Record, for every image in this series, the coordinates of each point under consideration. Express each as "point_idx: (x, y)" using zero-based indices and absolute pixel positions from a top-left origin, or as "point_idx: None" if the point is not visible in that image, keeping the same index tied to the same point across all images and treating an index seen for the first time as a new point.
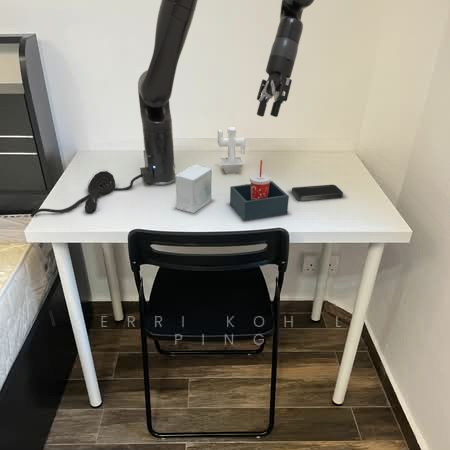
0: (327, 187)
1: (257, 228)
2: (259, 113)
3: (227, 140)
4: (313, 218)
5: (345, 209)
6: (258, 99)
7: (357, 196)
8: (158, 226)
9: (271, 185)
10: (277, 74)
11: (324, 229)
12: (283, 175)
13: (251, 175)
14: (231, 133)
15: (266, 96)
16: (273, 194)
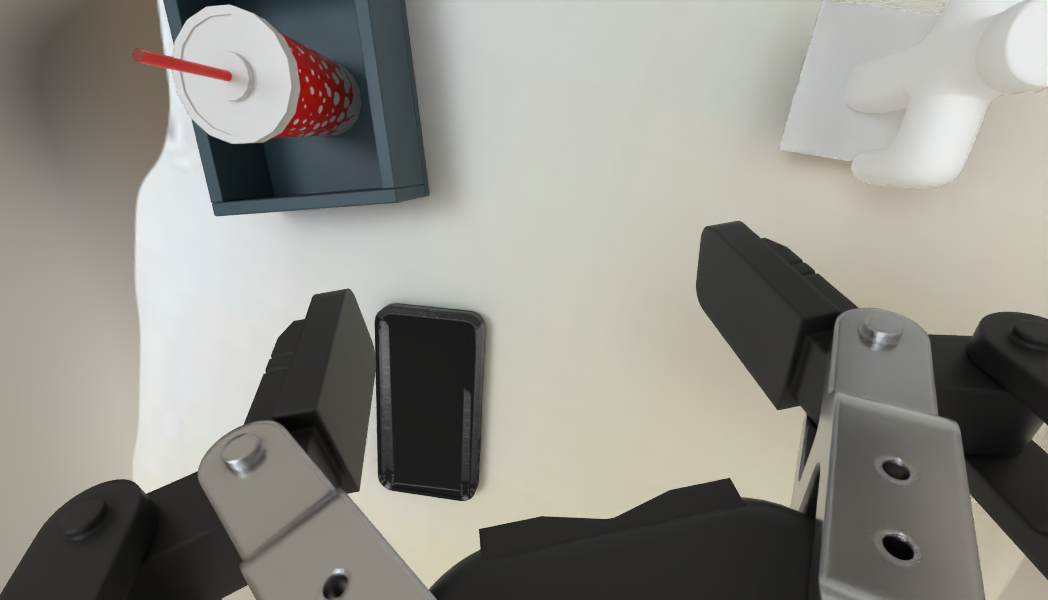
0: (454, 463)
1: (167, 36)
2: (713, 252)
3: (967, 10)
4: (233, 293)
5: None
6: (975, 331)
7: (388, 528)
8: None
9: (376, 189)
10: None
11: (152, 292)
12: (676, 357)
13: (267, 29)
14: (988, 29)
15: (811, 461)
16: (365, 189)
